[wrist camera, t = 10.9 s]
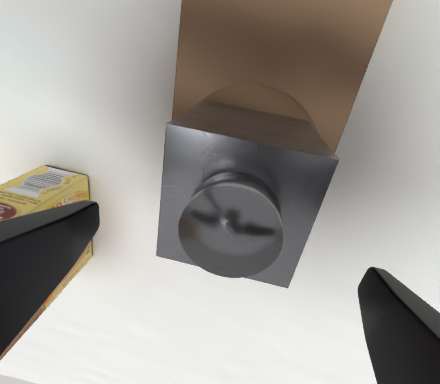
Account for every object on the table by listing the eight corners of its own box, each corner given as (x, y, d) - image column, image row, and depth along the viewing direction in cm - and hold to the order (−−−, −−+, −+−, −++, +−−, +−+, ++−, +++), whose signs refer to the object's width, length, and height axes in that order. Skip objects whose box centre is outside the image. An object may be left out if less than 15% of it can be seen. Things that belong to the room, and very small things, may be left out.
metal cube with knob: (194, 190, 18) (142, 279, 11) (206, 100, 15) (149, 133, 8) (280, 209, 18) (290, 317, 10) (308, 121, 15) (352, 176, 7)
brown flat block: (297, 225, 20) (306, 270, 16) (173, 197, 21) (147, 233, 16) (463, -230, 10) (610, -452, 6) (217, -256, 11) (185, -473, 7)
